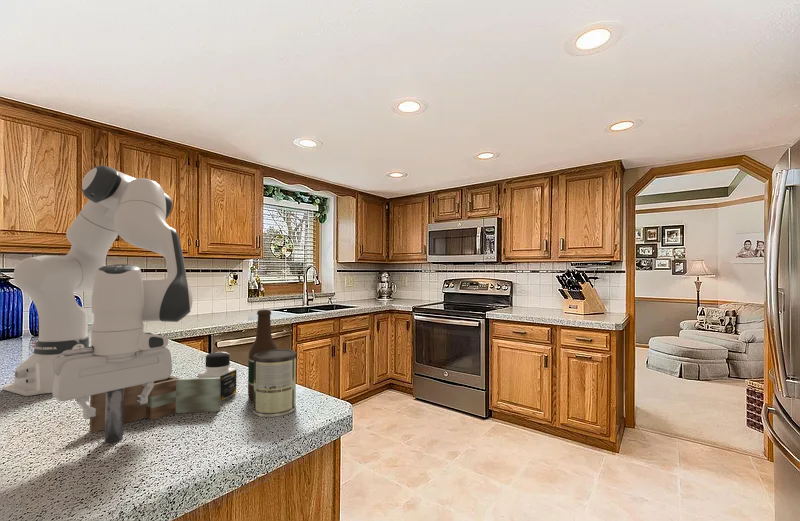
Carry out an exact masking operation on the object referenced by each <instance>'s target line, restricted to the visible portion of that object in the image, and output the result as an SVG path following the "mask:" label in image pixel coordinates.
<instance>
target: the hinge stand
mask: <svg viewBox="0 0 800 521" xmlns="http://www.w3.org/2000/svg"><path fill="white" fill-rule="evenodd" d="M144 388H145V387H144V386H142V384H140V385H136V386H131V387H127V388H124V406H123V425H124V424H128V423H131V422H135V421H137V420H141V419H145V418H147V419H149V420H151V421H152V420H157V419H159V418H163V417H166V416H169V415H172V414H177V413H178V414H180V413H183V414H184V413H205V412H207V413H208V412H210V413H211V412H220V411H221V401H220V397H221V378H198V377H195V378H194V377H193V378H192V377H191V378H187V377H186V378H180V377H177V376H173V375H170V376H169V377H168V378H167V379H162V380H158V381H154V387H153V389H152V390H151V392H150V394H149V395H148V403H147V404H143V405H138V404H137V396H139V395H141V393H142V391H143V390H144ZM105 406H106V392H104V393H100V394H95V395H91V396H89V407H93V408H96V412H95V414H96V416H95V417H93V418H90V419H89V433H91V434H92V433H93V434H94V433H95V432H99V431H102V430H105Z"/></svg>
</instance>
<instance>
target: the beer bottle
mask: <svg viewBox="0 0 800 521" xmlns="http://www.w3.org/2000/svg"><path fill="white" fill-rule="evenodd" d="M256 315H257V325H256V336H255V340H253V343H252V344H251V345H250V348H249V351H248V366H247V368H248V369H247V370H248V371H247V372H248V374H247V375H248V376H247V396H248V400H249V401H250V402H251V403H254V358H253V356H254V354H255V353H258V352H261V351H266V350H276V349H278V346H277V344H276V342H274V339H273V337H272V325H271V315H272V312H271V310H270V309H259V310H257V312H256Z"/></svg>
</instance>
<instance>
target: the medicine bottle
mask: <svg viewBox="0 0 800 521" xmlns="http://www.w3.org/2000/svg"><path fill="white" fill-rule="evenodd" d="M230 362H231V355H230V353H228V352H226V351H214V352H210V353H208V354H206V356H205V370H204V371H201V372H198V374H197V378H221V397H220V402H222V401H224V400H226V399H228V398H230V397H232V396H235V395H236V394H237V368H234V367H233V368H232V367H230V366H231V364H230Z"/></svg>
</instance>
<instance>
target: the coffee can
mask: <svg viewBox="0 0 800 521" xmlns="http://www.w3.org/2000/svg"><path fill="white" fill-rule="evenodd" d="M297 354H298V353H297V351H295V350H292V349H287V348H286V349H284V348H282V349H280V348H279V349H278V348H277V349H276V350H266V351H261V352H258V353H255V354H254V356H253V358H254V402H253V411H252V412H253V414H254V415H255V416H256V417H261V418H276V417H275V416H277V417H282V416H286V415H289V414H291V413H292V412H294V411H295V410H296V408H297V406H296V400H297V399H296V397H297V396H296V394H297V393H296V392H297V389H296V388H297V386H296V384H297V383H296V382H297V380H296V379H297V378H296V377H297V373H296V372H297Z"/></svg>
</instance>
